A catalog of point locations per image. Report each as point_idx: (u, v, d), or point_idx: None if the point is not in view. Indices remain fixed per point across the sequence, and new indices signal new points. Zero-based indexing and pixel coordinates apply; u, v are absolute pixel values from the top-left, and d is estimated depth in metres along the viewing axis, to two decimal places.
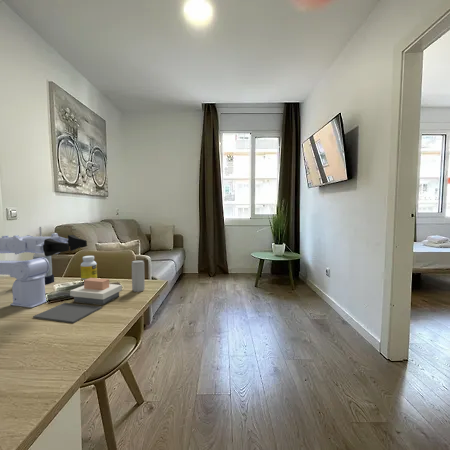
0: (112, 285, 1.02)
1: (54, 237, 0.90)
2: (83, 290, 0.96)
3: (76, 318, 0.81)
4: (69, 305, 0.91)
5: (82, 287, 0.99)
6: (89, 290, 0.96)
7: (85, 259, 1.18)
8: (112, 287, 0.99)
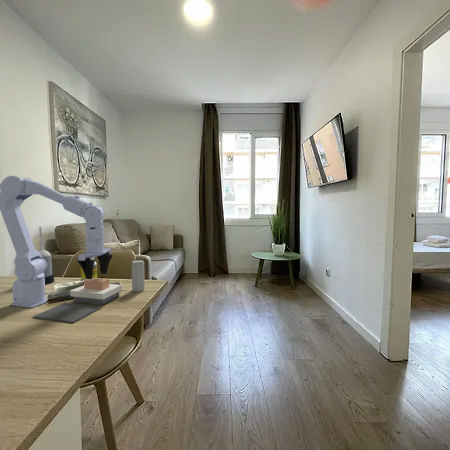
0: (112, 285, 1.02)
1: (100, 254, 0.97)
2: (83, 290, 0.96)
3: (76, 318, 0.81)
4: (69, 305, 0.91)
5: (82, 287, 0.99)
6: (89, 290, 0.96)
7: None
8: (112, 287, 0.99)
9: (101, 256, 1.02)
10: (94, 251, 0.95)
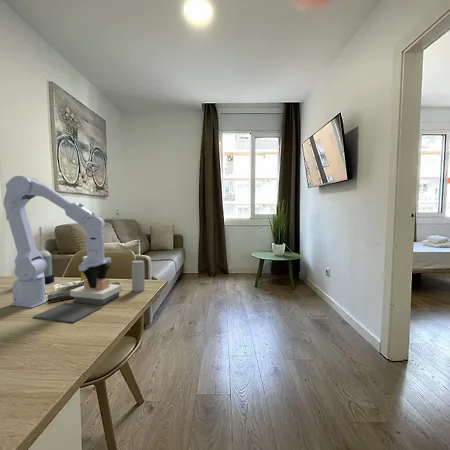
0: (112, 285, 1.02)
1: (101, 263, 0.97)
2: (83, 290, 0.96)
3: (76, 318, 0.81)
4: (69, 305, 0.91)
5: (82, 287, 0.99)
6: (89, 290, 0.96)
7: (85, 259, 1.18)
8: (112, 287, 0.99)
9: (98, 267, 1.00)
10: (94, 261, 0.95)
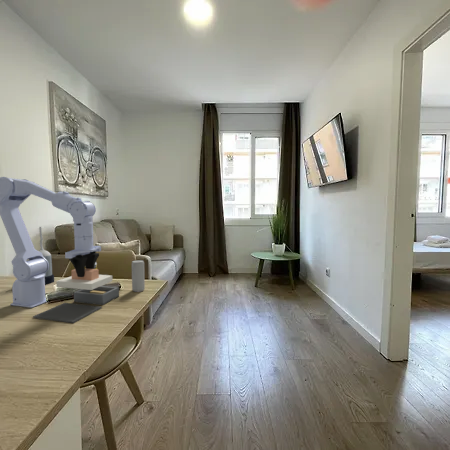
0: (102, 276, 0.96)
1: (89, 251, 0.91)
2: (70, 280, 0.91)
3: (76, 318, 0.81)
4: (69, 305, 0.91)
5: (70, 278, 0.94)
6: (77, 280, 0.90)
7: None
8: (101, 278, 0.94)
9: (87, 255, 0.95)
10: (82, 249, 0.90)
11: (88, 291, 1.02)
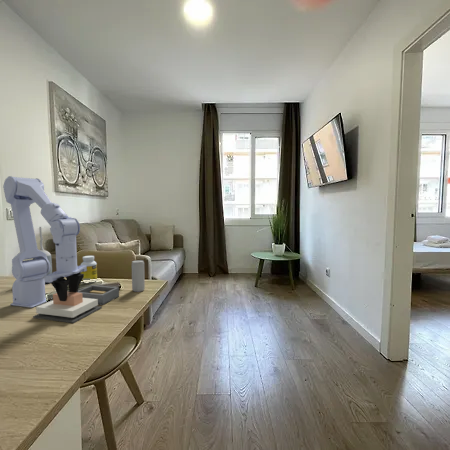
0: (86, 299, 0.89)
1: None
2: (51, 306, 0.84)
3: (76, 318, 0.81)
4: None
5: (51, 302, 0.87)
6: (58, 306, 0.83)
7: (85, 259, 1.18)
8: (85, 302, 0.87)
9: (70, 276, 0.88)
10: (64, 271, 0.83)
11: (88, 291, 1.02)
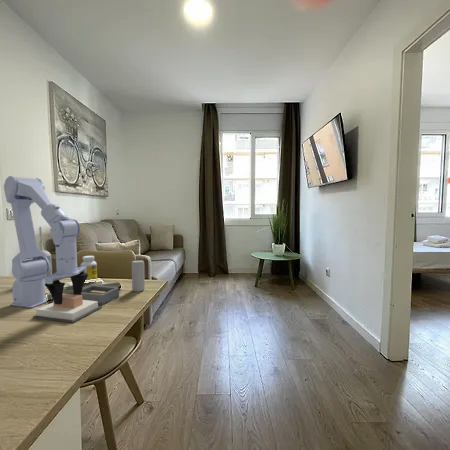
0: (86, 302, 0.89)
1: None
2: (51, 308, 0.84)
3: (76, 318, 0.81)
4: None
5: (51, 304, 0.87)
6: (58, 309, 0.83)
7: (85, 259, 1.18)
8: (85, 304, 0.87)
9: (74, 276, 0.90)
10: (64, 272, 0.83)
11: (88, 291, 1.02)
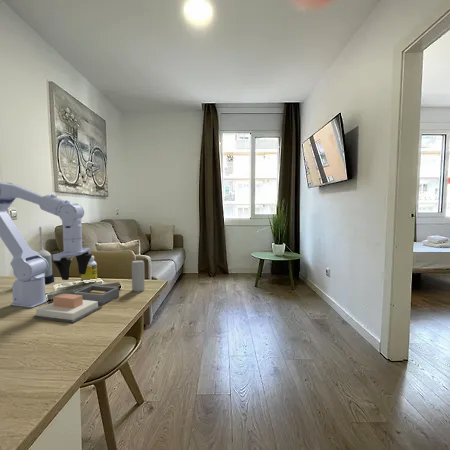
0: (86, 302, 0.89)
1: (78, 253, 0.93)
2: (51, 308, 0.84)
3: (76, 318, 0.81)
4: None
5: (51, 304, 0.87)
6: (58, 309, 0.83)
7: None
8: (85, 304, 0.87)
9: (80, 256, 0.98)
10: (71, 251, 0.91)
11: (88, 291, 1.02)
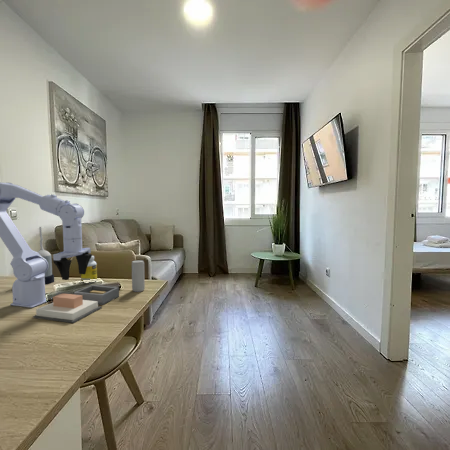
0: (86, 302, 0.89)
1: (78, 253, 0.93)
2: (51, 308, 0.84)
3: (76, 318, 0.81)
4: None
5: (51, 304, 0.87)
6: (58, 309, 0.83)
7: None
8: (85, 304, 0.87)
9: (80, 256, 0.98)
10: (71, 251, 0.92)
11: (88, 291, 1.02)
